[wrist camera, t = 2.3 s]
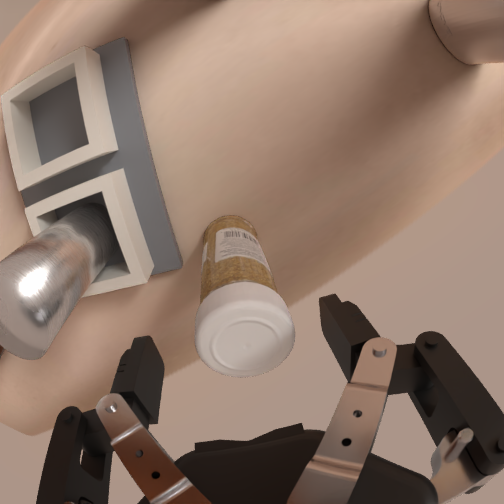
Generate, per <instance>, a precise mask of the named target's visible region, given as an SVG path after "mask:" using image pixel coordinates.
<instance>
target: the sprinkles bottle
mask: <svg viewBox="0 0 504 504" xmlns="http://www.w3.org/2000/svg"><path fill="white" fill-rule="evenodd" d="M203 245H204V250H203V256H202V268H201V274H202V282H201V295H200V300H201V301H200V306H199V308H198V311H197V314H196V319H195V347H196V350H197V353H198V355H199V357H200V358H201V360H202V361H203V362H204V363H205V364H206V365H207V366H208V367H209V368H211V369H213V370H214V371H216V372H218V373H221V374H223V375H227V376H231V377H253V376H257V375H261V374H264V373H266V372H269V371H270V370H272V369H274V368H276V367H277V366H279V365H280V364H281V363H282V362H283V361H284V360H285V359H286V358H287V356H288V355H289V354H290V352H291V350H292V348H293V345H294V342H295V329H294V325H293V322H292V319H291V316H290V313H289V311H288V308H287V306H286V304H285V302H284V300H283V299H282V298H281V296H280V295H279V294H278V292H277V289H276V286H275V284H274V279H273V276H272V273H271V271H270V268H269V265H268V263H267V261H266V258H265V255H264V253H263V250H262V248H261V246H260V244H259V242H258V240H257V234H256V232H255V229H254V228H253V226H252V225H251V224H250V223H249V222H248V221H246V220H245V219H243V218H240V217H238V216H224V217H221V218H218V219H217V220H215V221H214V222H212V223H211V224H210V225H209V226H208V228H207V230H206V232H205V235H204V239H203Z"/></svg>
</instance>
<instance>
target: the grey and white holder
mask: <svg viewBox="0 0 504 504" xmlns="http://www.w3.org/2000/svg"><path fill="white" fill-rule="evenodd" d="M1 104H2V113H3V120H4V127H5V133H6V139H7V144H8V149H9V154H10V159H11V163H12V167H13V172H14V176H15V180H16V183H17V187H18V191H21V194H22V197H23V200H24V204H25V207H26V208H25V209H24V211H25V214H26V217H27V220H28V223H29V225H30V228H31V231H32V234H33V237H34V236H36V235H37V234H39V233H40V232H42V231H43V230H45V229H46V228H48V227H49V226H51V225H52V224H54V223H55V222H57V221H58V220H60V219H61V218H63V217H64V216H66V215H68V214H69V213H71V212H72V211H74V210H76V209H77V208H79V207H80V206H82V205H84V204H88V203H97V204H101V205H103V206H105V207H107V210H108V213H109V216H110V219H111V222H112V225H113V228H114V230H115V233H116V236H117V239H118V242H119V246H118V248H117V250H116V251H115V253H114V254H113V255H112V256H111V258H110V259H109V260H108V262H107V263H106V264H105V266H104V267H103V268H102V270H101V271H100V272H99V274H98V275H97V276H96V278H95V279H94V280H93V282H92V283H91V285H90V286H89V287H88V289H87V290H86V291H85V293H84V294H83V296H82V297H81V298H83V297H87V296H92V295H96V294H101V293H105V292H110V291H114V290H118V289H123V288H127V287H132V286H136V285H140V284H145V283H147V282H148V280H149V277H150V275H154V274H158V273H163V272H167V271H171V270H175V269H180V268H182V265H183V261H182V258H181V255H180V252H179V249H178V246H177V242H176V239H175V236H174V233H173V229H172V226H171V223H170V220H169V216H168V213H167V209H166V206H165V202H164V199H163V195H162V192H161V188H160V185H159V181H158V177H157V174H156V170H155V166H154V162H153V158H152V154H151V150H150V146H149V142H148V138H147V134H146V130H145V125H144V121H143V117H142V112H141V108H140V103H139V98H138V93H137V89H136V84H135V78H134V73H133V68H132V62H131V57H130V51H129V45H128V40H127V39H126V38H125V37H122V38H120V39H117V40H115V41H112V42H110V43H107V44H105V45H102V46H100V47H98V48H95V49H93V50H91V49H90V48H88V47H86V46H83V47H81V48H79V49H76V50H74V51H72V52H70V53H69V54H67V55H65V56H63V57H61V58H59V59H57V60H55V61H54V62H52V63H50V64H48V65H47V66H45V67H43V68H42V69H40V70H38V71H37V72H35V73H33V74H32V75H30V76H29V77H27V78H25V79H24V80H22V81H21V82H19V83H18V84H16V85H15V86H14V87H12V88H11V89H9V90H8V91H7V92H5V93H4V94H2V95H1Z"/></svg>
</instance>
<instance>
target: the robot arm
mask: <svg viewBox="0 0 504 504" xmlns="http://www.w3.org/2000/svg"><path fill="white" fill-rule="evenodd" d="M429 14H430V18H431V22H432V24H433V27H434V29H435V31H436V33H437V35H438V37H439V38H440V40H441V41H442V43H443V44H444V45H445V47H446V48H447V49H448V50H449V52H450V53H452V54H453V55H454V56H455V57H456V58H457V59H458V60H460V61H461V62H464V63H466V64H470V65H474V64H485V63H502V62H504V0H430V1H429ZM319 306H320V317H321V326H322V331H323V334H324V337H325V338H326V340H327V342H328V344H329V346H330V348H331V349H332V352H333V353H334V355H335V358H336V359H337V361H338V363H339V365H340V367H341V369H342V371H343V373H344V375H345V377H346V379H347V380H348V383H347V384H346V386H345V389H344V391H343V394H342V396H341V398H340V401H339V403H338V405H337V408H336V410H335V413H334V415H333V417H332V419H331V421H330V424H329V426H328V428H327V430H326V432H325V431H321V430H304V429H303V425H302V423H299V424H296V425H292V426H288V427H284V428H279V429H275V430H273V431H271V432H269V433H266V434H264V435H262V436H259V437H257V438H255V439H253V440H249V441H234V440H214V441H207V442H199V443H195V450H194V451H191V452H189V453H187V454H185V455H183V456H182V457H180V458H179V459H177V460H176V461H174V460H173V459H172V458H171V457H170V456H169V455H168V454H167V452H166V451H165V450H164V449H163V448H162V447H161V445H160V444H159V443H158V442H157V440H156V439H155V438H154V437H153V436H152V434H151V433H150V432H149V431H148V428H149V424H158V416H159V408H160V400H161V391H162V385H163V377H164V363H163V360H162V358H161V356H160V354H159V352H158V350H157V348H156V346H155V344H154V342H153V340H152V338H151V337H150V336H143V337H137V338H134V340H133V343H132V346H131V349H127V350H126V351H125V353H124V354H123V355H122V357H121V359H120V362H119V366H118V368H117V373H116V375H115V378H114V381H113V385H112V388H111V391H110V394H108V395H106V396H104V397H102V398H101V399H100V400H99V402H98V403H97V406H96V409H93V410H90V411H87V412H84V413H82V412H81V411H80V410H79V409H78V408H77V407H74V406H70V407H67V408H65V409H63V410H62V411H61V412H60V413H59V415H58V417H57V420H56V423H55V426H54V429H53V433H52V436H51V440H50V444H49V447H48V451H47V455H46V459H45V463H44V467H43V471H42V476H41V480H40V485H39V490H38V495H37V501H36V504H108V495H109V483H110V482H109V481H110V472H111V462H112V454H113V451H115V452H116V453H117V455H118V457H119V458H120V460H121V462H122V463H123V465H124V466H125V468H126V469H127V471H128V472H129V474H130V475H131V477H132V478H133V479H134V481H135V482H136V484H137V485H138V487H139V488H140V489H141V491H142V492H143V493H144V495H145V496H144V497H143V498H142V499H141V500H140V502H139V503H138V504H446V503H448V502H450V501H451V500H453V499H455V498H456V497H458V496H460V495H462V494H463V493H465V494H470V493H473V492H476V491H477V490H478V489H480V488H481V487H482V486H484V485H485V484H486V483H487V482H488V481H489V480H491V479H492V478H493V477H494V476H495V475H496V474H498V473H499V472H500V471H501V470H502V469H503V468H504V414H503V412H502V411H501V409H500V408H499V406H498V405H497V404H496V402H495V401H494V399H493V398H492V397H491V395H490V394H489V393H488V391H487V390H486V388H485V387H484V386H483V384H482V383H481V382H480V381H479V379H478V378H477V377H476V375H475V374H474V373H473V371H472V370H471V369H470V368H469V366H468V365H467V364H466V363H465V361H464V360H463V359H462V358H461V356H460V355H459V354H458V353H457V351H456V350H455V349H454V348H453V347H452V346H451V344H450V343H449V342H448V341H447V339H446V338H445V337H444V336H443V335H442V334H440V333H437V332H433V331H428V332H424V333H422V334H420V335H419V336H418V337H417V338H416V341H415V343H412V344H405V345H395V343H394V342H393V341H391V340H389V339H387V338H383V337H380V335H379V334H378V333H377V331H376V330H375V329H374V328H373V326H372V325H371V323H370V322H369V321H368V320H367V319H366V317H365V316H364V314H363V313H362V312H361V311H360V309H359V308H358V307H357V305H355V304H353V303H351V302H349V301H346V302H341V301H340V299H339V298H338V297H337V295H336V294H331V295H328V296H324V297H321V298H319ZM400 393H408V394H409V396H410V398H411V400H412V402H413V403H414V405H415V407H416V409H417V411H418V412H419V414H420V416H421V418H422V420H423V421H424V424H425V425H426V427H427V429H428V431H429V433H430V435H431V437H432V439H433V440H434V443H435V445H436V446H437V448H436V450H435V451H434V453H433V455H432V458H431V466H432V471H433V473H432V477H431V479H430V480H429V479H428V478H426V477H425V476H423V475H421V474H419V473H417V472H414V471H412V470H409V469H407V468H404V467H402V466H400V465H397V464H395V463H393V462H390V461H388V460H386V459H384V458H381V457H379V456H377V455H375V454H372V453H371V450H372V448H373V445H374V442H375V439H376V435H377V432H378V429H379V425H380V422H381V419H382V415H383V412H384V408H385V404H386V401H387V397H388V395H392V394H400ZM82 449H83V455H82V461H81V465H80V455H81V450H82Z"/></svg>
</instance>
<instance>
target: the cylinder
mask: <svg viewBox="0 0 504 504" xmlns="http://www.w3.org/2000/svg"><path fill="white" fill-rule="evenodd" d="M118 246H119V242H118V239H117V236H116V233H115V230H114V228H113V225H112V222H111V219H110V216H109V213H108V210H107V207H105V206H103V205H101V204H97V203H88V204H84V205H82V206H80V207H79V208H77V209H76V210H74V211H72V212H71V213H69V214H68V215H66V216H64V217H63V218H61V219H60V220H58V221H57V222H55V223H54V224H52V225H51V226H49V227H48V228H46V229H45V230H43V231H42V232H40V233H39V234H37V235H36V236H34V237H33V238H32V239H30V240H29V241H27V242H26V243H25V244H23V245H22V246H21V247H19V248H18V249H16V250H15V251H14V252H12V253H11V254H10V255H8V256H7V257H6V258H5V259H3V260H2V261H1V262H0V345H1V346H2V347H3V348H5V349H6V350H7V351H9V352H10V353H12V354H14V355H15V356H18V357H20V358H23V359H27V360H35V359H39V358H41V357H42V356H43V355H44V354H45V353H46V351H47V349H48V348H49V346H50V345H51V343H52V341H53V340H54V338H55V336H56V335H57V333H58V332H59V330H60V329H61V327H62V325H63V324H64V322H65V321H66V319H67V318H68V316H69V315H70V313H71V312H72V310H73V309H74V307H75V306H76V304H77V303H78V301H79V300H80V299H81V297H82V296H83V294H84V293H85V291H86V290H87V289H88V287H89V286H90V285H91V283H92V282H93V280H94V279H95V278H96V276H97V275H98V274H99V272H100V271H101V270H102V268H103V267H104V266H105V264H106V263H107V262H108V260H109V259H110V258H111V256H112V255H113V254H114V253H115V251H116V250H117V248H118Z"/></svg>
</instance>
